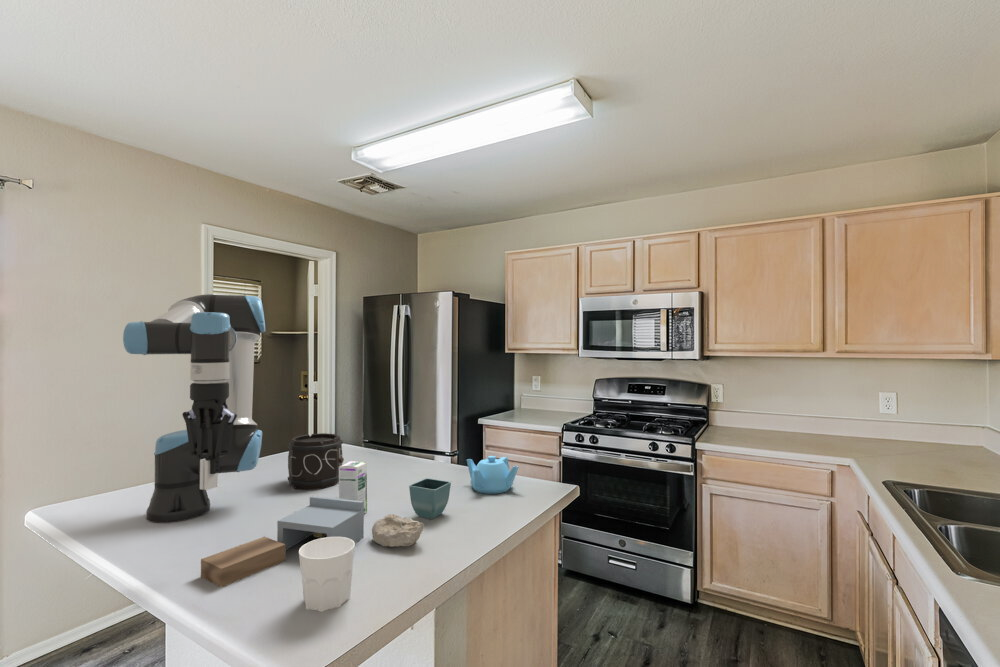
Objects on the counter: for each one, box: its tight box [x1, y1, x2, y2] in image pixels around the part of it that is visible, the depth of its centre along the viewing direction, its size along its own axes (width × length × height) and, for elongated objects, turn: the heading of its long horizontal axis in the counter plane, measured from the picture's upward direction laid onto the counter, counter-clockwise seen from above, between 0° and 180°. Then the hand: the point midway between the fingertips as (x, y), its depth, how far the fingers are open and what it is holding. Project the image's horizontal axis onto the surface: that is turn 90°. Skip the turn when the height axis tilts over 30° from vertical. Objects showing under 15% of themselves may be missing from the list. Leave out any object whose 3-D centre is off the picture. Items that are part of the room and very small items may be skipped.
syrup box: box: [338, 460, 368, 515], centre depth 138 cm, size 6×6×14 cm
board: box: [200, 536, 286, 588], centre depth 105 cm, size 8×14×4 cm, turn 147°
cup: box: [298, 536, 356, 613], centre depth 93 cm, size 10×10×10 cm
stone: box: [371, 513, 424, 548], centre depth 118 cm, size 8×12×10 cm, turn 63°
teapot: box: [466, 455, 519, 495], centre depth 163 cm, size 15×15×11 cm
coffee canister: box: [287, 432, 345, 491], centre depth 169 cm, size 18×18×16 cm
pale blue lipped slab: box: [276, 495, 365, 551], centre depth 118 cm, size 15×13×9 cm
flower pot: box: [408, 477, 452, 520], centre depth 138 cm, size 9×9×9 cm
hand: (208, 487), depth 108 cm, fingers closed
